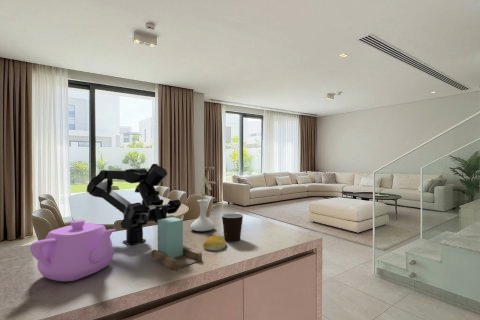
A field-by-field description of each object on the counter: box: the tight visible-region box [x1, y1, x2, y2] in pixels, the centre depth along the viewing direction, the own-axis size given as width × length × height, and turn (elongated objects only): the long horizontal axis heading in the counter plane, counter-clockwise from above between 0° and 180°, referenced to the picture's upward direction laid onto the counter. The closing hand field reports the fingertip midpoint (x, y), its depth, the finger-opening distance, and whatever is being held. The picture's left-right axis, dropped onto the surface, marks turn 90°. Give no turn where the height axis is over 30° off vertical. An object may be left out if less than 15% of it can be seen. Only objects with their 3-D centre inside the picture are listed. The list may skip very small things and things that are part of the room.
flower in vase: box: [190, 175, 216, 232], centre depth 122 cm, size 13×11×25 cm
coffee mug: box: [221, 212, 244, 243], centre depth 108 cm, size 12×9×10 cm
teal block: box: [157, 216, 184, 258], centre depth 88 cm, size 6×6×12 cm
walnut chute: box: [150, 245, 203, 271], centre depth 86 cm, size 14×10×2 cm
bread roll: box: [202, 234, 227, 252], centre depth 98 cm, size 8×9×4 cm
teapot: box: [29, 219, 116, 282], centre depth 74 cm, size 23×21×15 cm
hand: (164, 228), depth 92 cm, fingers closed
